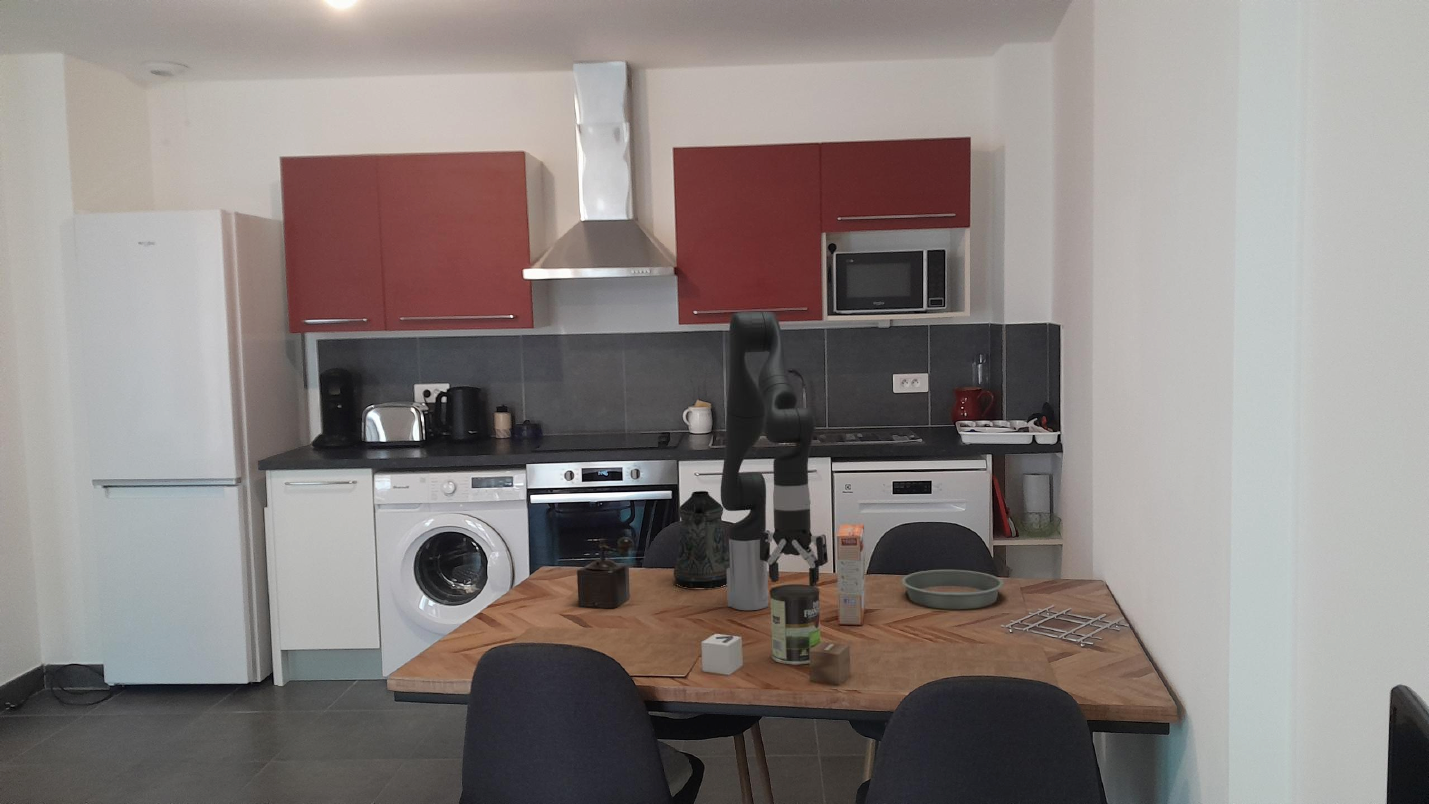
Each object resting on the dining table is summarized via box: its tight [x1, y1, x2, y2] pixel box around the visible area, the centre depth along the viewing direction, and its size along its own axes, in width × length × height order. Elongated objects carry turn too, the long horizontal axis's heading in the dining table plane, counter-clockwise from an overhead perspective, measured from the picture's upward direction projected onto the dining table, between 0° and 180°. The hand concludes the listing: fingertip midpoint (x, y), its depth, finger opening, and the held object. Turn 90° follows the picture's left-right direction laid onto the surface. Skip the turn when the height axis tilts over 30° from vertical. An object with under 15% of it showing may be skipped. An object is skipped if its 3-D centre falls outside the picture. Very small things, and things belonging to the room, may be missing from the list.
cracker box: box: [836, 523, 866, 626], centre depth 228 cm, size 14×6×21 cm, turn 168°
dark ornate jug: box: [672, 490, 730, 589], centre depth 265 cm, size 16×19×25 cm
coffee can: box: [768, 583, 821, 666], centre depth 202 cm, size 10×10×14 cm
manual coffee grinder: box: [576, 536, 634, 609], centre depth 249 cm, size 16×11×18 cm
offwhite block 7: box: [701, 633, 744, 676], centre depth 197 cm, size 6×6×6 cm
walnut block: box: [809, 641, 851, 685], centre depth 189 cm, size 6×6×6 cm
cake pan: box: [901, 569, 1004, 610], centre depth 243 cm, size 25×25×4 cm
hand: (794, 583), depth 201 cm, fingers open, 8 cm apart
